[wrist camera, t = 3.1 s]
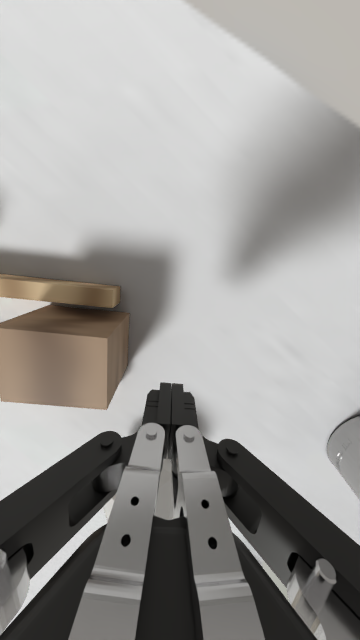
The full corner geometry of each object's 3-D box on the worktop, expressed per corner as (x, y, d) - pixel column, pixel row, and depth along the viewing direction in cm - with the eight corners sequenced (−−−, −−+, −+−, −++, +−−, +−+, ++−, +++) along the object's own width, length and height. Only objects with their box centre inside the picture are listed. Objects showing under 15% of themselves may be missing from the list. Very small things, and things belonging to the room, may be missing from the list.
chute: (120, 269, 20) (97, 274, 14) (117, 396, 24) (98, 440, 18) (-53, 250, 19) (-150, 248, 14) (-26, 385, 23) (-92, 426, 18)
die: (127, 416, 26) (64, 510, 19) (190, 447, 22) (136, 577, 16) (145, 444, 31) (99, 526, 24) (199, 473, 27) (161, 579, 20)
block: (129, 312, 21) (107, 338, 15) (127, 365, 23) (106, 409, 16) (49, 304, 21) (-11, 327, 14) (53, 358, 23) (1, 401, 16)
